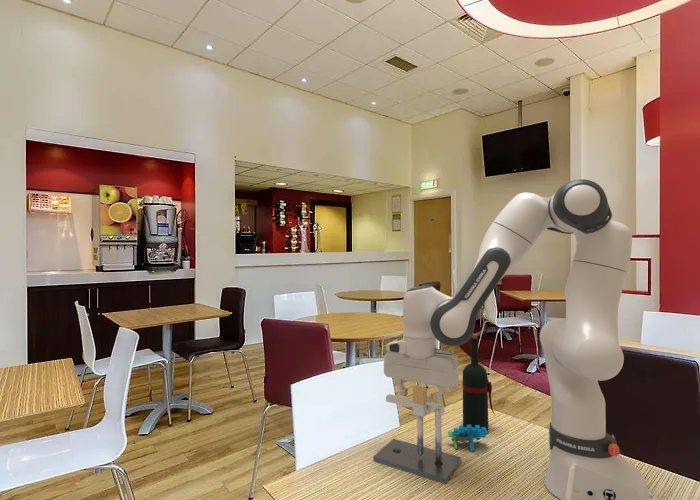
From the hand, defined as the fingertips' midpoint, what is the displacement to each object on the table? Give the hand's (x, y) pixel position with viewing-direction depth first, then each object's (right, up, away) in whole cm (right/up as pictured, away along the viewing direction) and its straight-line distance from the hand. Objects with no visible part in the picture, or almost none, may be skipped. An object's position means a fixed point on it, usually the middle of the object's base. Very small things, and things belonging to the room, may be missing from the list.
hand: (420, 398), depth 105 cm
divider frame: (-1, -16, +2) cm, 16 cm away
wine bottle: (+22, -17, +19) cm, 34 cm away
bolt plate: (-1, -17, 0) cm, 17 cm away
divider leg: (0, -15, 0) cm, 15 cm away
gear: (+15, -17, +9) cm, 25 cm away
